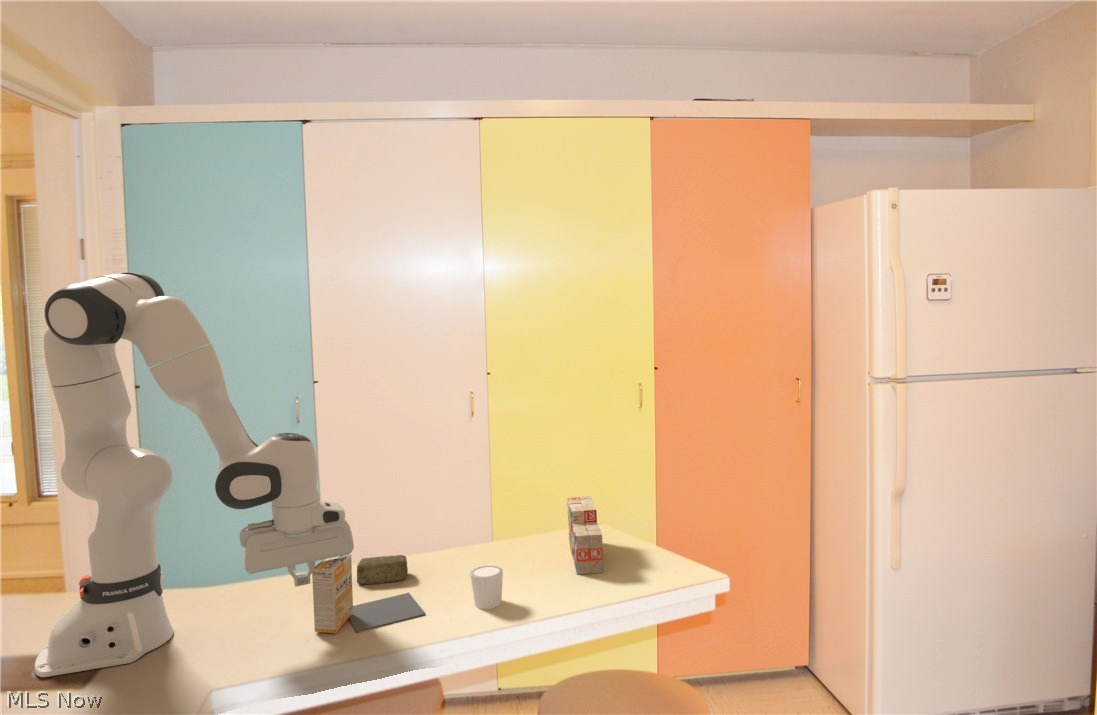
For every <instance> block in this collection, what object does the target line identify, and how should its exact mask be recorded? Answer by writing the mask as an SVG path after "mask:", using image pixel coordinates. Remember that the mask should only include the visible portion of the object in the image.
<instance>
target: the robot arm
mask: <svg viewBox="0 0 1097 715" xmlns="http://www.w3.org/2000/svg"><path fill="white" fill-rule="evenodd" d="M44 318H45V320H44V321H45V324H46V325H47V327H48V329H46V331H45V333H44V336H43V349H44V350H43V351H44V359H45V365H46V369H47V376H48V378H49V382H50V385H51V388H52V389H51V390H52V392H53V395H54V400H55V402H56V405H57V407H58V408H57V409H58V412H59V415H60V417H61V421H62V426H63V433H64V450H65V455H64V456H65V459H64V460H63V462H62V464H61V469H60V477H61V479H62V482H63V484H64V485H65V486H66V487H67V488H68V489H69V490H70V491H71V492H73V493H74V494H76V495H77V496H79V497H80V498H82V499H86V500H90V501H94V502H96V504H97V507H98V510H97V511H98V512H97V519H96V524H95V527H94V530H93V531H92V532H91V533H90V535H89V537H88V539H87V545H88V546H87V547H88V557H89V565H90V566H89V568H90V574H84V575H82V577H81V578H80V580H79V582H78V585H79V596H80V597H79V598H80V600H79V601H78V602H77V603H76V604H75V605H73V606H72V607H71V608H70V609H69V610H68V611H67V612H66V613H65V614H63V615H62V616H61V617H60V618H59V619H58V620H57V621H56V622H55V624H54V625H53V627H52V628H51V631H50V635H49V636H48V637H49V638H48V644H47V645H46V646H45V647H44V648H43V649H42V650H41V651H40V652H39V653H38V655H37V657H36V658H35V662H34V673H35V675H36V676H38V677H40V678H48V677H53V676H60V675H67V674H72V673H78V672H83V671H89V670H96V669H102V668H108V667H114V666H119V665H120V666H121V665H125V664H130V663H133V662H135V661H137V660H138V659H140V658H141V657H143V655H145V654H146V653H148V652H151V651H153V650H155V649H157V648H159V647H160V646H163V644H165V643H167V642H168V641H169V640H170V639H171V638H172V636H174V632H175V631H174V628H173V626H172V624H171V621H170V619H169V616H168V614H167V613H168V612H167V610H166V607H165V603H164V598H163V591H164V582H163V580H164V579H163V572H162V569H161V564H159V563H158V562H159V561H158V551H157V550H158V549H157V537H156V522H157V515H158V511H159V507H160V503H161V500H162V498H163V497H165V495H167V493H168V492H169V489H170V488H171V485H172V481H173V471H172V468H171V466H170V463H169V462H168V461H167V460H166V459H165V458H163V457H162V456H160V455H159V454H157V453H155V452H153V451H152V450H149V449H148V448H147V449H146V448H143V447H133V446H130V444H129V443H128V439H127V421H128V417H129V416H130V414H131V412H132V405H131V401H130V398H129V395H128V394H129V393H128V391H127V387H126V384H125V382H124V381H125V380H124V377H123V374H122V370H121V368H120V363H119V360H118V358H117V355H116V354H117V353H116V344H117V343H118V342H119V341H120V339H121V340H127V341H129V342H131V343H132V344H133V345H134V346H136V348H137V349H138V351H139V352H140V354H141V355H142V357H143V360H144V361H145V364H146V366H147V368H148V369H149V372H150V373H151V376H152V377H153V379H154V381H155V382H156V384H157V385H158V386H159V388H160V390H162V391H163V393H164V394H165V395H166V397H167V398H168V399H169V400H170V401H172V402H173V403H175V404H178V405H180V406H183V407H184V408H186V409H188V410H190V411H191V412H192V413H193V414H194V415H195V416H196V417H197V418H198V419H199V421H200V422H201V424H202V426H203V427H204V430H205V432H206V433H207V435H208V436H209V439H210V441H211V443H212V444H213V446H214V448H215V449H216V451H217V454H218V458H219V470H218V473H217V476H216V480H215V484H214V489H215V490H214V491H215V494H216V496H217V498H218V499H219V501H221V503H222V504H224V505H225V506H226V507H228V508H231V509H234V510H246V509H251V508H255V507H259V506H261V505H265V504H267V503H271V510H272V511H271V513H272V519H269V520H264V521H260V522H256V523H255V522H252V523H249V524H247V526H245V527H244V528H242V529H241V530H240V533H239V543H240V546H241V547H242V548H243V566H244V571H246V573H248V574H250V575H254V574H259V573H263V572H268V571H273V570H278V569H282V568H286V569H287V572H288V573H289V575H290V576H291V577H292V578H293V583H294V584H293V585H294V587H295V588H296V587H297V588H298V587H301V586H306V585H310V584H311V583H312V582H311V581H312V580H311V576H312V569H313V568H314V567H316V561H317V562H318V561H322V560H324V559H327V558H332V557H337V556H342V555H347V554H352V552H353V550H354V548H355V545H354V538H353V534H352V529H351V526H350V524H349V523H348V522H347V520H346V512H345V510H344V507H342V506H341V504H339V503H338V502H332V501H323V500H320V499H321V498H320V493H319V490H318V488H317V487H318V484H317V483H318V479H319V474H318V473H319V470H318V461H317V454H316V450H315V446H314V443H313V442H312V440H310V439H309V437H308V436H306V435H304V434H299V433H294V432H293V433H292V432H282V433H280V432H279V433H275V434H272V435H271V436H270V437H269V438H268V439H267V440H266V441H264V442H263V443H261V444H259V445H258V444H257V443H256V442H255V441H253V440H252V438H250V436H249V434H248V433H247V431H246V428H245V427H244V425H243V423H242V421H241V420H240V417H239V416H238V414H237V412H236V410H235V408H234V407H233V404H232V402H231V400H230V397H229V393H228V389H227V385H226V381H225V377H224V373H223V369H222V367H221V362H220V360H219V358H218V355H217V353H216V350H215V348H214V346H213V344H212V343H211V341H210V339H209V337H208V335H207V332H206V330H204V328H203V326H202V324H201V323H200V322H199V320H198V318H197V317H196V315H195V314H194V313H193V312H192V310H191V309H190V308H189V307H188V305H187V304H186V303H185V301H183V300H182V299H180V298H178V297H176V296H172V295H171V296H170V295H165V292H164V290H163V288H162V286H161V285H160V283H158V281H156V280H155V279H154V278H152V277H151V276H149V275H146V274H144V273H138V272H122V273H118V274H117V273H116V274H107V275H100V276H96V277H94V278H92V279H89V280H84V281H81V282H78V283H71V284H69V285H68V284H67V285H66V286H64V287H61V288H60V289H58V290H57V291H55V292H54V293H52V295H50V296H49V298H48V299H47V301H46V303H45V306H44ZM302 564H306V566H307V569H306V571H305V573H300V574H297V573H296V572H295V571H296V566H297V565H302Z"/></svg>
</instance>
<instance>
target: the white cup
mask: <svg viewBox="0 0 1097 715" xmlns="http://www.w3.org/2000/svg"><path fill="white" fill-rule="evenodd" d="M503 571H504V570H503V568H501V567H499V566H496V565H482V566H478V567H475V568H474V569H472V570H471V571H470V572H469V575H470V582H471V588H472V594H473V595H472V596H473V601H474V606H475V608H477V609H480V610H491V609H492V608H493V609H495V607H496V608H497V607H500V606H501V605H502V599H503V576H504V572H503ZM493 609H492V610H493Z"/></svg>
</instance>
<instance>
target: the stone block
mask: <svg viewBox="0 0 1097 715" xmlns="http://www.w3.org/2000/svg"><path fill="white" fill-rule="evenodd" d="M408 573H409V568H408V559H407V556H406V555H404V554H403V555H402V554H397V555H383V556H375V557H373V556H372V557H364V558H361V559H360V560H359V562H358V563H357V565H356V583H357V584H359V585H373V584H384V583H392V582H393V583H394V582H395V583H396V582H401V581H404V580H406V577H407V576H408Z"/></svg>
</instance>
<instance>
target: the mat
mask: <svg viewBox="0 0 1097 715" xmlns="http://www.w3.org/2000/svg"><path fill="white" fill-rule="evenodd" d="M423 616H426V612H425V611H424V610H423V608H422V607H421V605H420V604H419V603H418V602H417V601H416V599H414V597H413V596H412V595H411V593H410V592H406V593H402V594H397V595H392V596H390V597H386V598H381V599H380V598H379V599H377V600H373V601H368V602H364V603H359V604H355V605H353V614H352V615H351V616H350V617H349V618H348V619H349V621H350V624H352V625H351V626H353V629H354V631H355V632H356V633H359V632H360V633H361V632H364V631H368V630H372V629H376V628H380V627H384V626H387V625H391V624H395V623H398V622H399V623H400V622H404V621H407V620H411V619H414V618H419V617H423Z"/></svg>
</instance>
